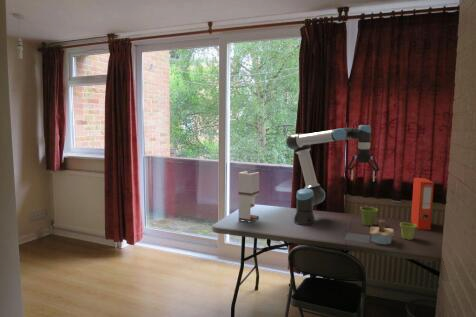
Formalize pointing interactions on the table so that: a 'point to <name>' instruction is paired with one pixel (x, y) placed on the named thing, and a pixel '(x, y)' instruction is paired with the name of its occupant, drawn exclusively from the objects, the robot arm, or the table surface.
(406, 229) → the plant pot
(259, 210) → the table surface
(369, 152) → the robot arm
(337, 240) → the table surface
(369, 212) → the plant pot
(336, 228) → the table surface
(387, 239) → the slate-blue bowl
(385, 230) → the oak board
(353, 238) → the charcoal mat
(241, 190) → the white coffee grinder
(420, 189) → the file binder
